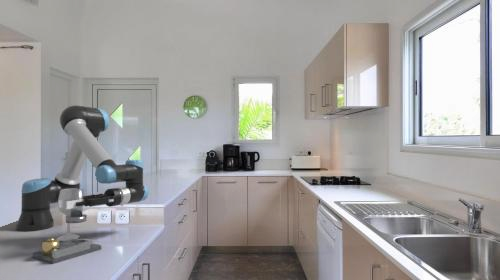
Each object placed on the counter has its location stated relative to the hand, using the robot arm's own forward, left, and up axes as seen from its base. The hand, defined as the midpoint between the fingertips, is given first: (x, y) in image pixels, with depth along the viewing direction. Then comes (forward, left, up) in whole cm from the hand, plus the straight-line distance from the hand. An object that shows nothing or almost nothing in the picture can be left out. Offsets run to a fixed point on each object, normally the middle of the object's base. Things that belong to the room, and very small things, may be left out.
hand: (62, 204), depth 117 cm
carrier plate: (+1, +2, -18) cm, 18 cm away
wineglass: (-18, +13, -18) cm, 29 cm away
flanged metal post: (0, +5, -7) cm, 9 cm away
